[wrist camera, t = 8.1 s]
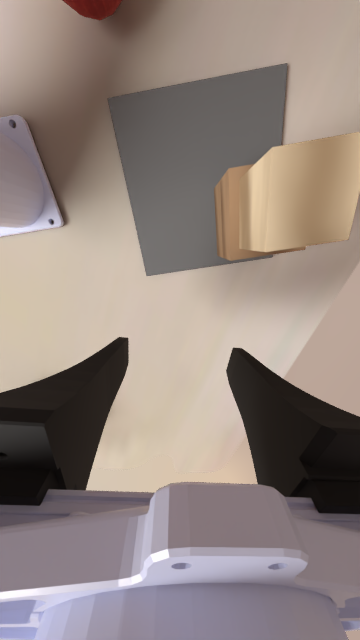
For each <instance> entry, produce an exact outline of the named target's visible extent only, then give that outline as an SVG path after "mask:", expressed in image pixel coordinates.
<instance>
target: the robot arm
mask: <svg viewBox="0 0 360 640" xmlns="http://www.w3.org/2000/svg"><path fill="white" fill-rule="evenodd" d="M13 123H16V128H14V127H13ZM51 220H53V221H54V224H52V223H51ZM63 224H64V222H63V219H62V216H61V213H60V210H59V208H58V205H57V202H56V200H55V197H54V194H53V192H52V189H51V186H50V183H49V181H48V178H47V175H46V173H45V170H44V167H43V165H42V162H41V159H40V156H39V154H38V151H37V148H36V146H35V143H34V140H33V137H32V135H31V132H30V129H29V127H28V124H27V122H26V121H25V120H24V119H23V118H22V117H21V116H19V115H11V116H6V117H1V118H0V237H3V236H9V235H15V234H21V233H27V232H34V231H40V230H46V229H52V228H58V227H62V226H63ZM127 366H128V338H123V337H119V338H117V339H116V340H114V341H113V342H111V343H110V344H109V345H107V346H106V347H104V348H103V349H101V350H100V351H99V352H97V353H95V354H94V355H92V356H91V357H89V358H87V359H86V360H84V361H82V362H80V363H78V364H77V365H75V366H73V367H71V368H69V369H66V370H64V371H62V372H60V373H57V374H55V375H53V376H50V377H48V378H45V379H43V380H40V381H37V382H34V383H31V384H28V385H26V386H22V387H19V388H16V389H12V390H9V391H6V392H2V393H0V639H5V640H348V637H347V635H346V632H345V631H352V630H360V417H359V416H356V415H354V414H351V413H349V412H346V411H344V410H341V409H339V408H337V407H335V406H332V405H330V404H328V403H326V402H324V401H322V400H320V399H318V398H316V397H314V396H312V395H310V394H308V393H306V392H304V391H302V390H301V389H299V388H297V387H295V386H294V385H292V384H290V383H289V382H287V381H286V380H284V379H283V378H281V377H280V376H278V375H277V374H275V373H274V372H272V371H271V370H270V369H268V368H267V367H266V366H264V365H263V364H262V363H260V362H259V361H258V360H257V359H255V358H254V357H253V356H251V355H250V354H249V353H247V352H246V351H245V350H243V349H242V348H233V350H232V353H231V356H230V360H229V363H228V367H227V370H226V372H227V377H228V381H229V385H230V387H231V390H232V393H233V396H234V398H235V401H236V403H237V406H238V409H239V411H240V414H241V417H242V420H243V423H244V427H245V430H246V434H247V438H248V442H249V446H250V450H251V454H252V458H253V463H254V468H255V472H256V477H257V482H258V484H230V483H204V482H181V483H171V484H169V485H167V486H164V487H162V488H160V489H158V490H157V491H156V492H155V493H148V492H118V491H116V492H115V491H86V486H87V483H88V479H89V476H90V472H91V469H92V465H93V462H94V458H95V455H96V452H97V448H98V445H99V442H100V438H101V435H102V432H103V429H104V426H105V423H106V420H107V417H108V414H109V411H110V408H111V406H112V404H113V401H114V399H115V397H116V395H117V392H118V390H119V388H120V385H121V383H122V381H123V379H124V376H125V373H126V370H127Z"/></svg>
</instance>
